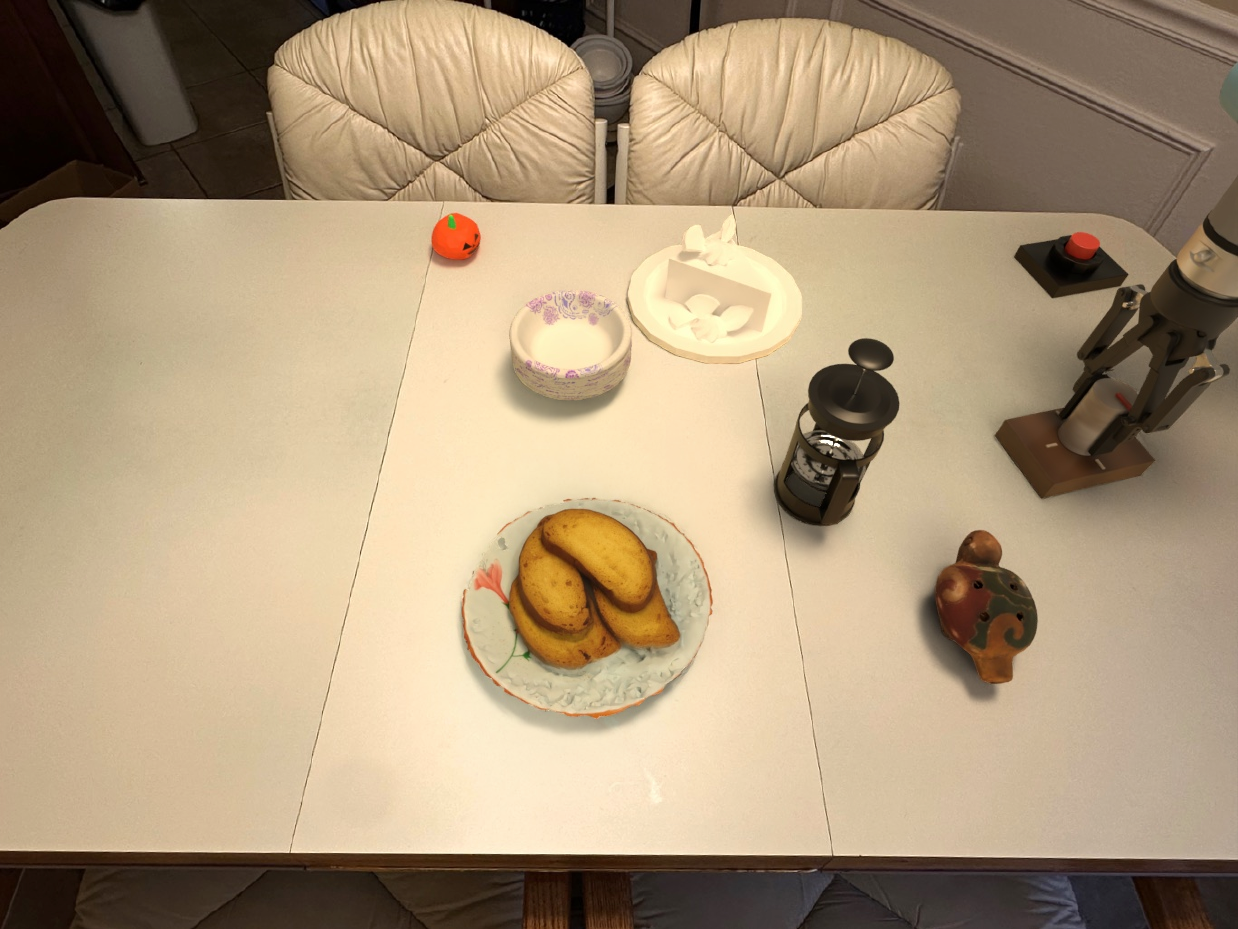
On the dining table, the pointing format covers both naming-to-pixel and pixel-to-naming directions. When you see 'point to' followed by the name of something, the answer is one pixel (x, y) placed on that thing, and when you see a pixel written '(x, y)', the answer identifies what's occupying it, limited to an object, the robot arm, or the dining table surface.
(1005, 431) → the dial panel
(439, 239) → the pumpkin
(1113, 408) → the dial
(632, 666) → the food on plate
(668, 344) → the dish
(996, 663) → the painted clay ocarina
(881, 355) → the french press
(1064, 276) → the button housing
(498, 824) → the dining table surface
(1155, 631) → the dining table surface
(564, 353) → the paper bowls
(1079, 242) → the push knob
